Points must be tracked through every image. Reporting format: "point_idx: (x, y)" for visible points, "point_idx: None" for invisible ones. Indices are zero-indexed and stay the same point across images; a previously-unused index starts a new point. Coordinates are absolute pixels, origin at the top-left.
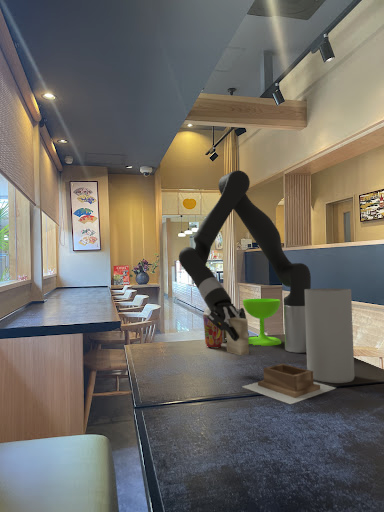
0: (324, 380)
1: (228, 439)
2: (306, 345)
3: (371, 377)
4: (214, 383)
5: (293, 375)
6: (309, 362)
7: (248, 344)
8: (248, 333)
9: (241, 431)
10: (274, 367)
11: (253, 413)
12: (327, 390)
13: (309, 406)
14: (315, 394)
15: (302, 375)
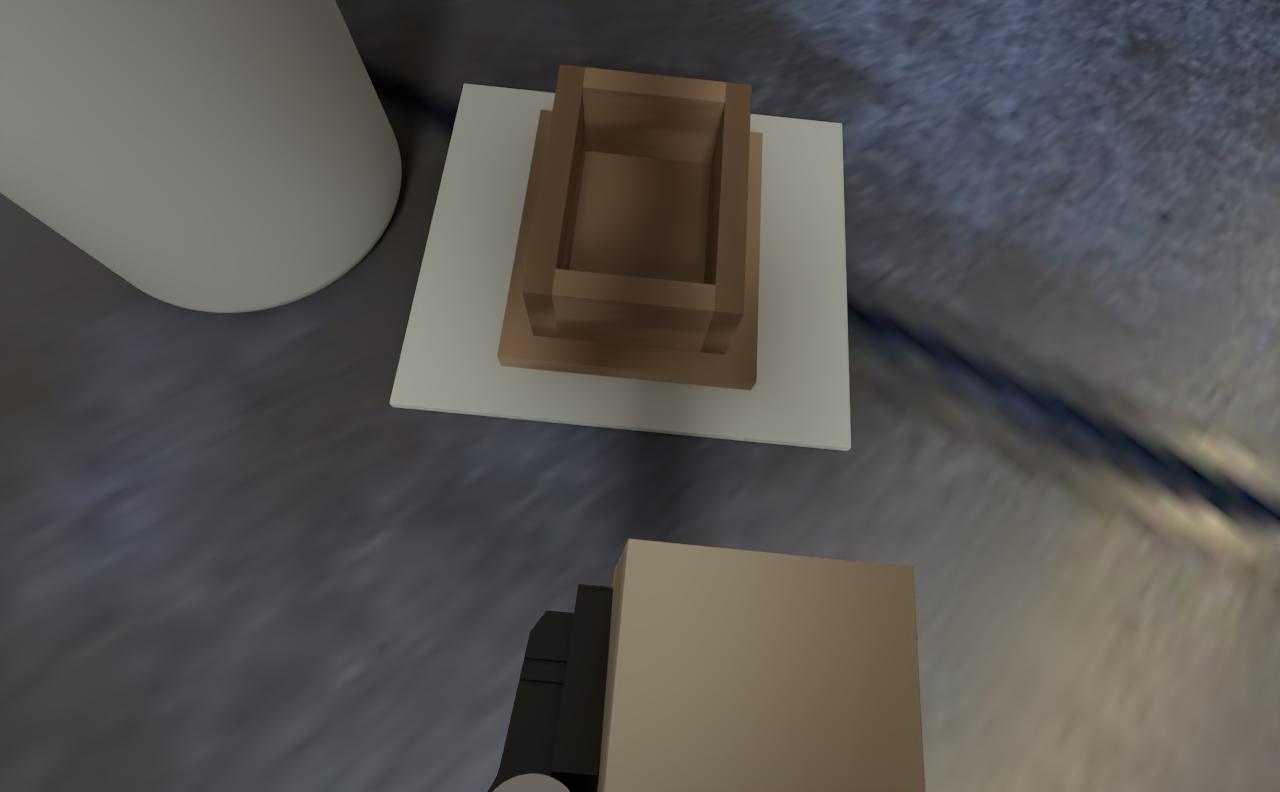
0: (399, 154)
1: (1260, 119)
2: (201, 139)
3: None
4: (933, 668)
5: (730, 99)
6: (330, 187)
7: (611, 576)
8: (546, 618)
9: (1184, 125)
10: (653, 280)
11: (1038, 188)
12: (537, 94)
13: (774, 79)
14: None
15: (669, 81)
